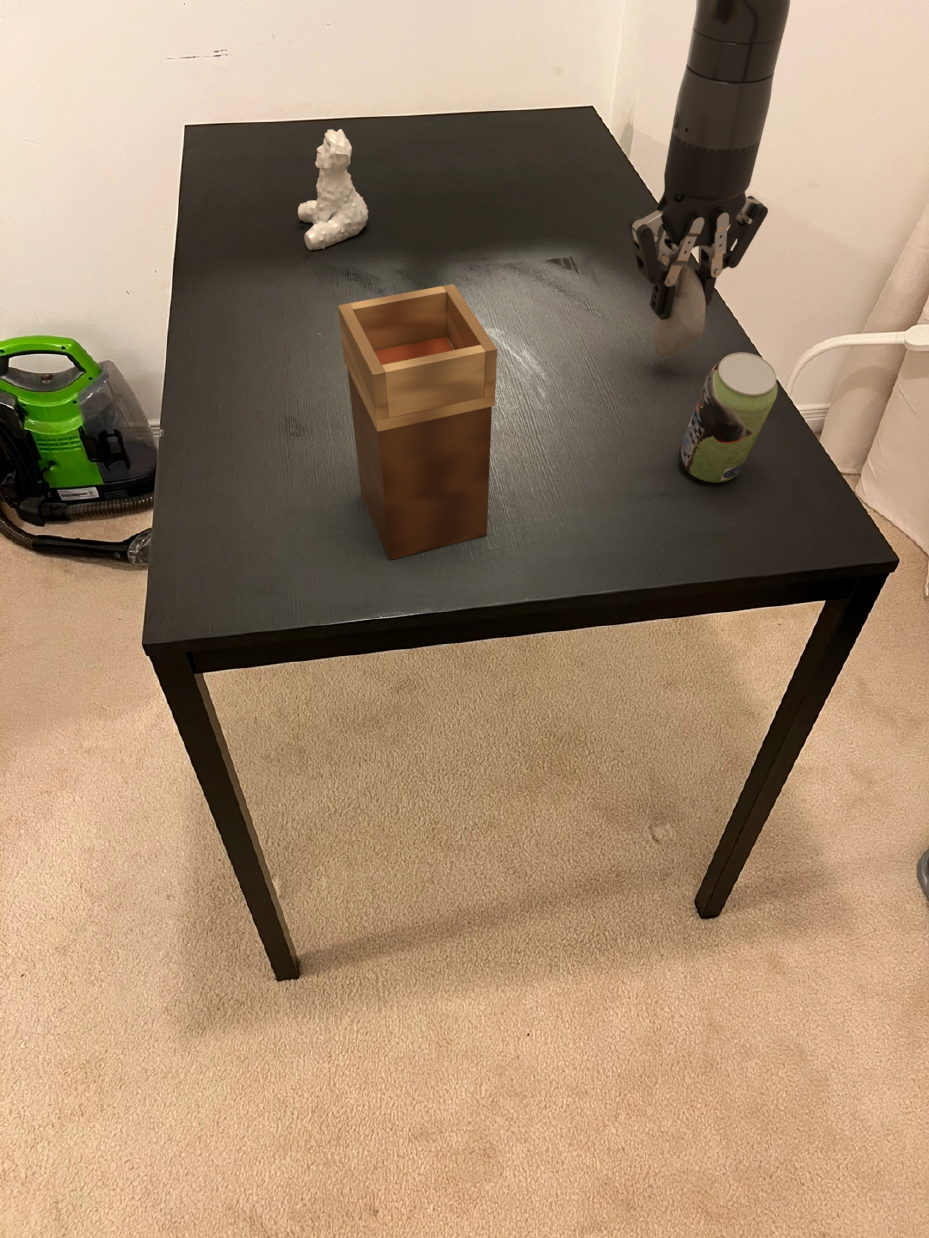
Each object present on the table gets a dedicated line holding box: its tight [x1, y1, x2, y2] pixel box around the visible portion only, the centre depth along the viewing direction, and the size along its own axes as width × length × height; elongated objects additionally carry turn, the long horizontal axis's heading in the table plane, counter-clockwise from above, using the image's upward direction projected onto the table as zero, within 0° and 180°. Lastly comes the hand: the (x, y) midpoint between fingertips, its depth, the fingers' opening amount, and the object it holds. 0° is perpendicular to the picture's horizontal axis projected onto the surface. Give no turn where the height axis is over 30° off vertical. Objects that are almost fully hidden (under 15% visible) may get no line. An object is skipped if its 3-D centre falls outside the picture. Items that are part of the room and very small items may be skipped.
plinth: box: [346, 368, 493, 561], centre depth 74 cm, size 9×9×14 cm
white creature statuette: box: [297, 128, 369, 251], centre depth 107 cm, size 10×9×12 cm
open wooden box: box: [337, 283, 498, 432], centre depth 66 cm, size 9×9×5 cm
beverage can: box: [678, 352, 778, 483], centre depth 78 cm, size 6×7×12 cm
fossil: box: [653, 263, 707, 359], centre depth 88 cm, size 6×4×10 cm, turn 26°
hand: (679, 311), depth 87 cm, fingers closed on fossil, 3 cm apart
